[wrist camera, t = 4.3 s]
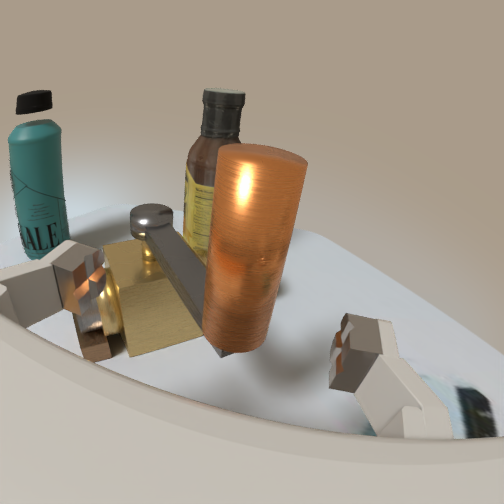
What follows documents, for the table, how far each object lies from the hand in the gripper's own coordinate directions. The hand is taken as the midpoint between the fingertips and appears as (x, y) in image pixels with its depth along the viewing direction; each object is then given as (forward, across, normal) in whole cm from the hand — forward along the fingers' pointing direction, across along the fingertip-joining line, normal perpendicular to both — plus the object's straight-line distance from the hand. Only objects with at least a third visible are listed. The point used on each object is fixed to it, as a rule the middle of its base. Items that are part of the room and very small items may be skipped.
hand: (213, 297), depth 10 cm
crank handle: (+7, -4, -5) cm, 10 cm away
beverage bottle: (+16, -25, -15) cm, 33 cm away
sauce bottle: (+24, -7, -15) cm, 29 cm away
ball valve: (+13, -7, -15) cm, 21 cm away
